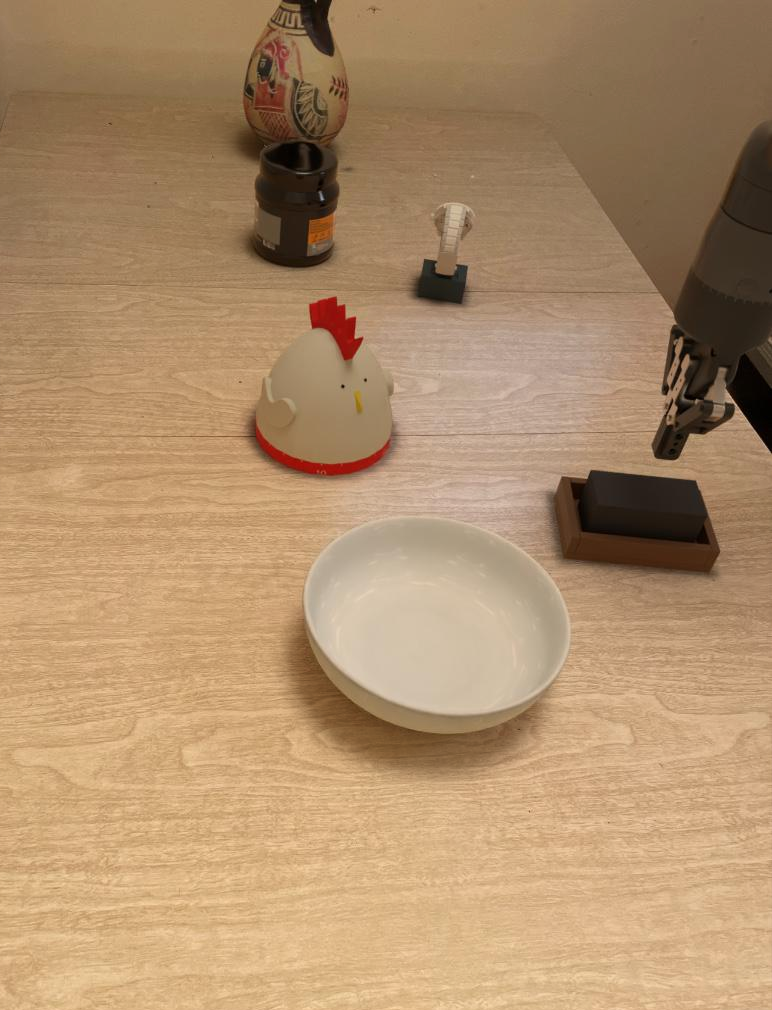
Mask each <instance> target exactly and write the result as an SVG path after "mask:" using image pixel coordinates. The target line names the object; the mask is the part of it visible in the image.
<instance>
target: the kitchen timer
mask: <svg viewBox="0 0 772 1010" xmlns="http://www.w3.org/2000/svg"><path fill="white" fill-rule="evenodd" d="M346 309H347V308H346V304H345V303H343V304H340V305H338V297H337V296H336V295H335V296H331V297H327V298H323V299H318V300H317V301H316V302H311V303H308V310H309V312H308V313H309V319H310V320H309V321H310V325H311V329H310V330H308V331H306V332H304V333H302V334H300V335H299V336H298V337H296V338H295V339H294V340H293V341H292V342H291V343H290V344H289V345H288V346H287V347H286V348H285V349H284V350H283V351H282V352H281V353H280V355H279V356H278V357H277V358H276V360H275V361H274V363H273V365H272V367H271V370H270V371H269V374H268V376H264V377H263V378H262V383H261V393H260V395H259V399H258V402H257V406H256V410H255V420H254V421H255V422H254V424H255V425H254V426H255V437H256V440H257V441H258V443H259V444H260V447H261V448H262V450H263V451H265V453H267V454H268V455H269V456H270V457H271V458H272V459H273V460H274V461H276V462H278V463H280V464H282V465H284V466H286V467H288V468H290V469H293V470H296V471H300V472H303V473H307V474H311V475H320V476H321V475H322V476H339V475H349V474H353V473H355V472H359V471H362V470H365V469H368V468H370V467H371V466H372V465H374V464H376V463H377V462H379V461H380V460H381V459H382V458H383V456H384V455H385V454H386V453H387V451H388V449H389V446H390V441H391V437H392V430H393V423H394V422H393V419H394V418H393V409H392V403H391V398H390V397H392V396H393V394H394V391H395V390H394V389H395V384H394V383H395V382H394V378H393V374H392V372H391V370H390V369H388V368H386V369H383V368H382V366H381V364H380V362H379V360H378V359H377V357H376V356H375V354H374V353H373V351H372V350H371V349H370V347H369V346H368V344H367V343H366V342H364V336H360V337H359V336H358V335H356V327H357V316H356V315H355V316H351V317H347V312H346V311H347V310H346Z"/></svg>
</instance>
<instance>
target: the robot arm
mask: <svg viewBox="0 0 772 1010" xmlns="http://www.w3.org/2000/svg"><path fill="white" fill-rule="evenodd" d="M673 319H674V322H675V324H673V325H672V326H671V329H670V330H669V339H668V346H667V351H666V357H665V365H664V372H663V379H662V384H661V395H662V396H666V397H665V399H664V400H663V401H664V402H663V403H662V413H663V416H662V419H661V420H660V423H659V425H658V428H657V431H656V432H655V435H654V437H653V440H652V442H651V449H652V454H653V456H654V458H655V459H656V460H661V461H662V460H664V461H676V460H678V459H679V458H680V456H681V454H682V452H683V450H684V447H686V446H685V445H686V443H687V441H688V439H689V437H690V434H691V435H692V434H693V435H702V436H705V435H707V434H708V433H710V432H711V431H713V430H715V429H716V428H718V427H720V426H721V425H724V424H725V423H727V422H728V421H730V420H731V419H733V417H734V415H735V412H736V405H735V404H734V403H733V402H732V403H731V402H727V401H726V389H727V386H729V385H730V384H731V383H732V382H733V380H734V379H735V376H736V373H737V371H738V368H739V367H738V366H739V363H740V358H741V357H742V356H744V354H746V353H748V352H750V351H753V350H756V349H758V348H760V347H762V346H763V345H765V344H766V343H767V342H768V341H769V339H770V338H771V336H772V116H771V117H768V118H765V119H763V120H761V121H760V122H758V123H757V124H756V125H754V127H753V128H751V130H750V132H749V133H748V135H747V136H746V138H745V140H744V142H743V144H742V146H741V148H740V150H739V153H738V155H737V158H736V160H735V162H734V165H733V168H732V170H731V173H730V175H729V177H728V180H727V182H726V185H725V187H724V190H723V193H722V195H721V198H720V200H719V203H718V204H717V207H716V208H715V211H714V212H713V214H712V216H711V218H710V220H709V221H708V223H707V225H706V227H705V229H704V231H703V234H702V236H701V239H700V241H699V244H698V247H697V249H696V252H695V254H694V256H693V259H692V261H691V264H690V266H689V269H688V272H687V274H686V277H685V280H684V282H683V284H682V287H681V290H680V292H679V295H678V297H677V299H676V302H675V305H674V308H673Z"/></svg>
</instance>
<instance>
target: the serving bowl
mask: <svg viewBox="0 0 772 1010" xmlns="http://www.w3.org/2000/svg"><path fill="white" fill-rule="evenodd" d="M301 598H302V603H301V604H302V613H303V620H304V621H303V622H304V627H305V631H306V636H307V639H308V642H309V645H310V648H311V650H312V653H313V654H314V657H315V658H316V660H317V662H318V665H320V668H321V669H322V670H323V672H324V673H325V675H326V676H327V678H329V680H330V681H331V682H332V684H333V685H334V686H335V688H337V689H338V690H339V691H340V692H341V693H342V694H343V695H345V696H346V697H347V698H348V699H349V700H350V701H351V702H353V703H354V704H356V705H357V706H358V707H359V708H360V709H363V710H364V711H365V712H368V713H369V714H371V715H372V716H374V717H377V718H379V719H381V720H383V721H385V722H387V723H390V724H392V725H395V726H398V727H401V728H405V729H409V730H413V731H416V732H417V731H418V732H424V733H431V734H445V735H446V734H447V735H448V734H449V735H450V734H466V733H472V732H478V731H482V730H483V731H484V730H486V729H490V728H492V727H496V726H498V725H501V724H504V723H506V722H508V721H510V720H511V719H513V718H515V717H517V716H519V715H521V714H522V713H523V712H525V711H527V710H528V709H530V708H531V707H532V706H533V705H534V704H535V703H536V702H538V701H539V700H540V699H541V698H542V697H543V696H545V693H547V691H548V690H549V689H550V688H551V686H553V684H554V683H555V681H556V680H557V679H558V677H559V676H560V675H561V673H562V671H563V669H564V667H565V665H566V663H567V660H568V658H569V656H570V655H569V654H570V651H571V646H572V638H573V637H572V636H573V635H572V622H571V617H570V613H569V609H568V606H567V604H566V600H565V599H564V596H563V594H562V592H561V590H560V589H559V587H558V585H557V584H556V582H555V581H554V579H553V578H552V577H551V576H550V574H549V573H548V572H547V571H546V570H545V569H544V568H543V566H542V565H541V564H540V563H539V562H538V561H537V560H536V559H535V558H533V557H532V556H531V555H530V554H529V553H528V552H526V551H524V549H522V548H521V547H519V546H517V544H515V543H513V542H511V541H510V540H508V539H506V538H505V537H503V536H501V535H499V534H497V533H495V532H493V531H490V530H488V529H486V528H483V527H481V526H478V525H476V524H473V523H468V522H465V521H461V520H458V519H454V518H448V517H442V516H434V515H418V514H415V515H412V514H411V515H397V516H388V517H383V518H378V519H375V520H371V521H368V522H367V521H366V522H364V523H361V524H359V525H357V526H354V527H353V528H350V529H348V530H346V531H345V532H343V533H342V534H340V535H338V536H336V537H335V538H334V539H333V540H331V541H330V542H329V543H328V544H327V545H326V546H324V548H323V549H322V550H321V551H320V552H319V553H318V554H317V556H316V557H315V559H314V560H313V562H312V563H311V565H310V567H309V568H308V571H307V573H306V575H305V578H304V584H303V588H302V597H301Z"/></svg>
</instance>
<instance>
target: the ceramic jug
mask: <svg viewBox="0 0 772 1010" xmlns="http://www.w3.org/2000/svg"><path fill="white" fill-rule="evenodd" d="M332 2H333V0H281V1H280V3H279V5H278V6H277V8H276V10H275V11H274V13H273V15H271V17H270V18H269V20H268V21H267V24H266V25H265V27H264V29H263V30H262V33H261V34H260V37H259V38H258V40H257V41H256V43H255V46H254V47H253V50H252V52H251V54H250V57H249V60H248V64H247V69H246V71H245V72H246V73H245V77H244V84H243V91H242V105H243V110H244V116H245V119H246V122H247V123H248V125H249V127H250V128H251V130H252V131H253V132H254V134H255V135H256V137H257V138H258V140H259V141H260V142H261V144H262V143H263V144H264V145H265V146H268V145H270V144H273V143H276V142H281V141H304V142H310V143H314V144H318V145H321V146H323V147H325V148H327V147H328V146H329V145H330V144H331V143H332V142H333V141H334V140H335V139H336V138H337V136H339V134H340V132H341V131H342V129H343V128H344V125H345V122H346V119H347V116H348V110H349V102H350V101H349V100H350V99H349V98H350V96H349V95H350V94H349V93H350V88H349V79H348V75H347V71H346V66H345V62H344V59H343V56H342V53H341V50H340V48H339V46H338V43H337V41H336V39H335V37H334V34H333V32H332V29H331V27H330V23H329V19H328V18H329V12H330V7H331V5H332ZM263 144H262V145H263ZM264 148H265V147H264V146H263V149H264Z"/></svg>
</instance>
